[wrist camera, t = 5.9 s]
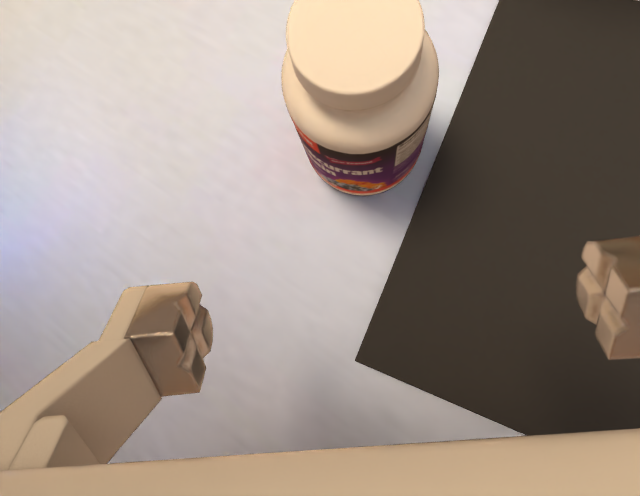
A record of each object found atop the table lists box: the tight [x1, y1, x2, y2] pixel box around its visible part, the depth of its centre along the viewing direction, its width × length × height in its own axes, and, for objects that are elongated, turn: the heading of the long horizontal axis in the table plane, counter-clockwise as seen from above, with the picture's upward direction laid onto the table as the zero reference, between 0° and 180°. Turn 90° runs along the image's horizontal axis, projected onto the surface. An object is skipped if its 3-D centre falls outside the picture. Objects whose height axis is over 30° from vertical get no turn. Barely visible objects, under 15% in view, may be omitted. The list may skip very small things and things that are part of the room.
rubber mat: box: [355, 0, 640, 436], centre depth 22 cm, size 20×16×1 cm
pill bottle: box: [281, 0, 439, 195], centre depth 19 cm, size 5×5×10 cm
